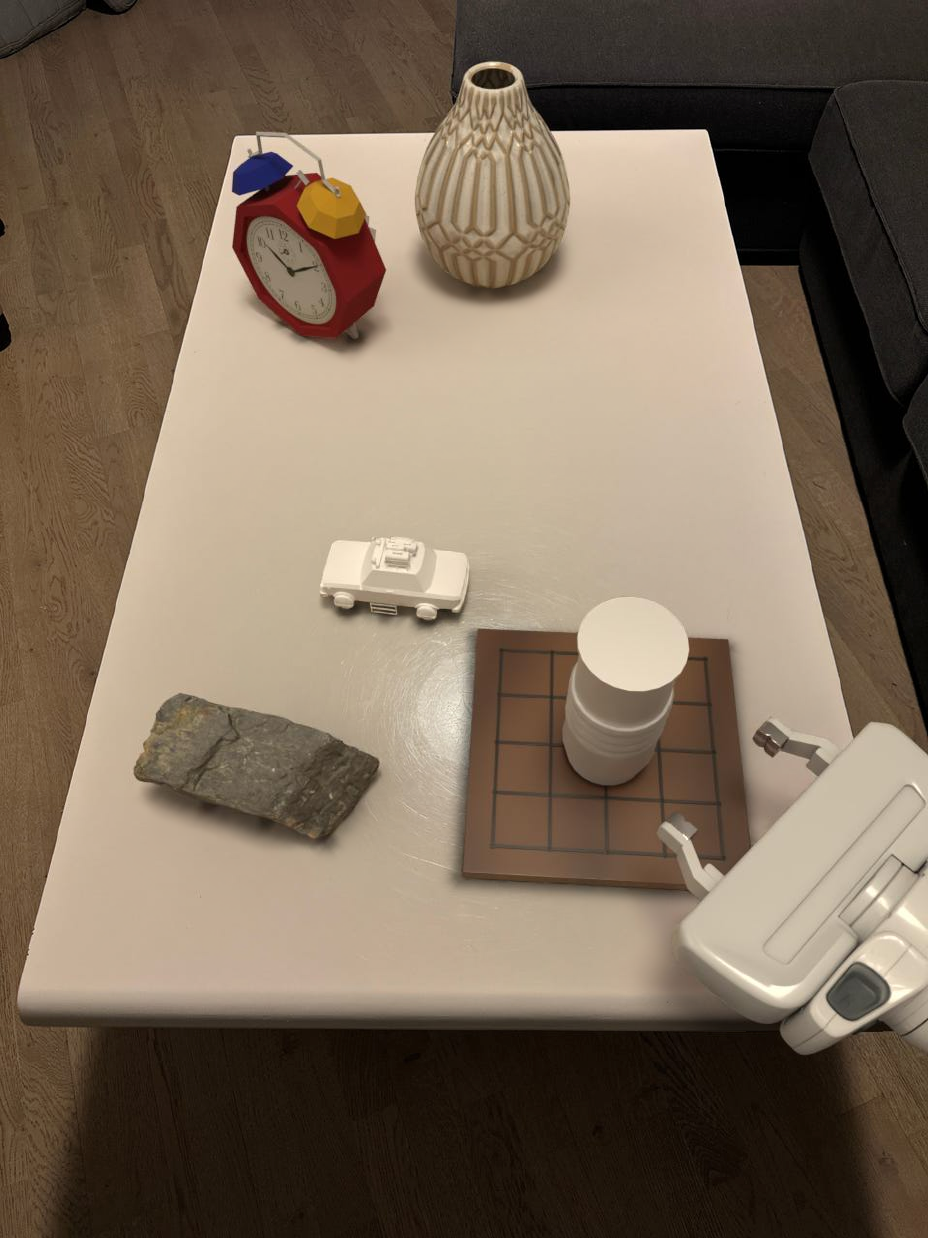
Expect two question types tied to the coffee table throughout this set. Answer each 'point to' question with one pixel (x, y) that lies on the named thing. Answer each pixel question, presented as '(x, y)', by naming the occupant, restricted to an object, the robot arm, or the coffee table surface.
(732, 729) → the grid board
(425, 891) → the coffee table surface
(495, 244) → the vase
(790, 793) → the coffee table surface
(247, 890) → the coffee table surface
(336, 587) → the toy car
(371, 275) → the alarm clock
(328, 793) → the rock
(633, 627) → the white travel cup
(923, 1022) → the robot arm
